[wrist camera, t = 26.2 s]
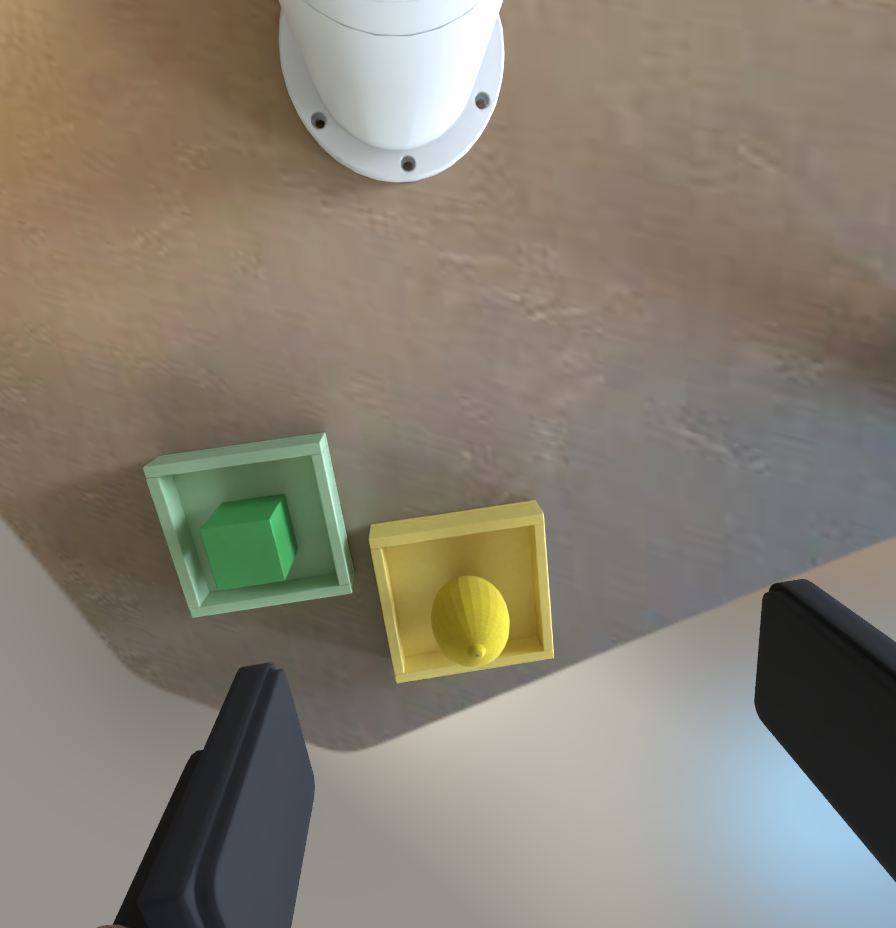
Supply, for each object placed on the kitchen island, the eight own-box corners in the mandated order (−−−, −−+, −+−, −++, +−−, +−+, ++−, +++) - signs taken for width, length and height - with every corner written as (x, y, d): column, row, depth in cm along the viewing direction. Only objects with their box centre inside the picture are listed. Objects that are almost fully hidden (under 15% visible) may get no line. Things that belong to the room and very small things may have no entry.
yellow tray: (370, 524, 39) (368, 539, 37) (535, 499, 40) (543, 513, 37) (396, 661, 43) (396, 683, 41) (545, 637, 44) (554, 658, 41)
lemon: (424, 615, 42) (428, 687, 34) (434, 553, 40) (441, 614, 32) (492, 621, 42) (511, 693, 35) (504, 560, 41) (527, 622, 33)
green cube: (221, 502, 37) (198, 529, 33) (285, 493, 38) (270, 519, 33) (237, 558, 39) (217, 590, 35) (298, 549, 39) (285, 580, 35)
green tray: (159, 455, 37) (141, 467, 34) (325, 431, 37) (319, 441, 35) (204, 598, 40) (191, 618, 38) (355, 575, 41) (352, 593, 38)
